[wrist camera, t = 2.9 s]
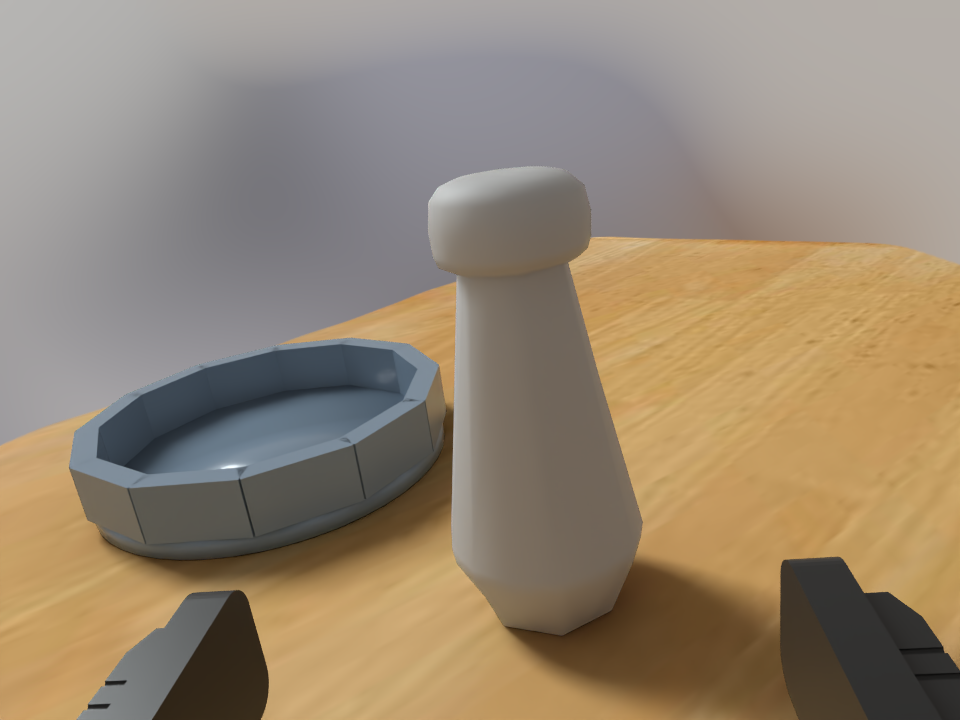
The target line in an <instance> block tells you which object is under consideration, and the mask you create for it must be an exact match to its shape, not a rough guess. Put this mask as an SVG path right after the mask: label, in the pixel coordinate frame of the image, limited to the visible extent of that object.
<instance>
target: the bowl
mask: <svg viewBox="0 0 960 720" xmlns="http://www.w3.org/2000/svg"><path fill="white" fill-rule="evenodd" d="M445 415H446V405H445V399H444V393H443V387H442V380H441V374H440V368H439V364H437V363H436V362H434V361H433V360H431V359H430V358H428V357H427V356H426V355H424V354H423V353H421V352H420V351H418V350H417V349H415V348H414V347H413V346H411V345H410V344H405V343H396V342H386V341H377V340H367V339H357V338H343V339H333V340H323V341H313V342H303V343H293V344H284V345H277V346H271V347H267V348H263V349H259V350H255V351H251V352H247V353H243V354H239V355H235V356H232V357H227V358H223V359H219V360H215V361H211V362H207V363H203V364H199V365H196V366H194V367H191V368H189V369H186V370H184V371H181V372H179V373H177V374H174V375H172V376H169V377H167V378H165V379H163V380H160V381H157V382H155V383H152V384H150V385H147V386H145V387H143V388H140V389H138V390H135V391H133V392H130V393H128V394H126V395H124V396H123V397H121V398H120V399H119V400H117V401H116V402H115V403H113V404H112V405H110V406H109V407H108V408H106V409H105V410H104V411H102V412H101V413H100V414H98V415H97V416H95V417H94V418H93V419H91V420H90V421H89V422H87V423H86V424H85V425H83V426H82V427H80V428H79V429H78V430H76V431H75V433H74V439H73V445H72V452H71V458H70V464H69V469H70V472H71V475H72V477H73V480H74V483H75V486H76V489H77V492H78V494H79V497H80V500H81V503H82V506H83V509H84V511H85V514H86V517H87V520H88V521H91V522H93V523H95V524H96V526H97V528H98V530H99V532H100V534H101V535H102V536H103V537H104V538H105V539H106V540H107V541H108V542H109V543H111V544H113V545H115V546H116V547H118V548H120V549H122V550H125V551H128V552H131V553H134V554H137V555H141V556H147V557H152V558H159V559H174V560H198V559H213V558H223V557H233V556H238V555H244V554H250V553H256V552H261V551H265V550H269V549H274V548H278V547H282V546H286V545H290V544H293V543H296V542H299V541H303V540H306V539H309V538H312V537H316V536H318V535H321V534H324V533H326V532H329V531H331V530H334V529H337V528H339V527H342V526H344V525H346V524H348V523H351V522H353V521H355V520H357V519H359V518H361V517H364V516H366V515H368V514H369V513H371V512H373V511H375V510H377V509H378V508H380V507H382V506H384V505H386V504H387V503H389V502H390V501H392V500H393V499H395V498H396V497H398V496H399V495H401V494H402V493H404V492H405V491H406V490H408V489H409V488H410V487H411V486H412V485H414V484H415V483H416V482H417V481H419V480H420V479H421V478H422V477H423V476H424V474H425V473H426V472H427V471H428V470H429V469H430V468H431V467H432V465H433V464H434V462H435V461H436V460H437V458H438V457H439V454H440V452H441V450H442V448H443V444H444V437H445V435H444V429H443V421H444V418H445Z"/></svg>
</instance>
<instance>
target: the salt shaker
mask: <svg viewBox="0 0 960 720" xmlns="http://www.w3.org/2000/svg"><path fill="white" fill-rule="evenodd" d="M428 234H429V239H430V244H431V249H432V254H433V258H434V260H435V262H436V264H437V266H438V268H439V269H442V270H445V271H448V272H451V273H454V274H457V290H456V336H455V382H454V428H453V474H452V520H451V528H452V549H453V553H454V556H455V559H456V562H457V564H458V566H459V567H460V568H461V569H462V570H463V571H464V573H465V574H466V575H467V576H468V577H469V578H470V580H471V581H472V582H473V583H474V584H475V585H476V587H477V588H478V589H479V590H480V591H481V592H482V594H483V595H484V596H485V597H486V599H487V600H488V602H489V603H490V605H491V607H492V608H493V610H494V611H495V613H496V614H497V616H498V618H499V619H500V621H501V622H502V624H503V625H504V626H507V627H513V628H519V629H525V630H531V631H537V632H543V633H549V634H555V635H560V636H563V635H565V634H567V633H569V632H571V631H573V630H574V629H576V628H578V627H580V626H582V625H584V624H586V623H588V622H590V621H592V620H594V619H596V618H598V617H600V616H602V615H604V614H606V613H608V612H609V611H611V610H612V609H613V607H614V604H615V602H616V600H617V598H618V595H619V593H620V591H621V589H622V586H623V584H624V582H625V579H626V577H627V575H628V573H629V570H630V568H631V566H632V563H633V561H634V557H635V554H636V551H637V548H638V544H639V541H640V538H641V531H642V523H643V521H642V518H641V515H640V511H639V508H638V505H637V501H636V498H635V494H634V491H633V488H632V484H631V481H630V478H629V474H628V471H627V468H626V464H625V461H624V458H623V454H622V451H621V448H620V444H619V441H618V438H617V434H616V431H615V428H614V424H613V421H612V418H611V414H610V411H609V408H608V404H607V401H606V398H605V394H604V391H603V388H602V384H601V381H600V377H599V374H598V371H597V367H596V363H595V360H594V356H593V352H592V349H591V345H590V341H589V338H588V334H587V330H586V327H585V323H584V319H583V316H582V312H581V308H580V305H579V301H578V297H577V294H576V290H575V286H574V283H573V279H572V275H571V272H570V268H569V264H568V262H570V261H572V260H573V259H575V258H577V257H578V256H579V255H581V254H582V253H583V252H584V251H585V250H586V249H587V248H588V245H589V241H590V237H591V209H590V205H589V201H588V197H587V193H586V189H585V185H584V184H583V183H582V182H580V181H579V180H578V179H577V178H576V177H574V176H573V175H572V174H571V173H569V172H568V171H566V170H564V169H558V168H551V167H546V166H529V167H516V168H506V169H496V170H491V171H486V172H480V173H475V174H471V175H465V176H461V177H459V178H457V179H454V180H452V181H450V182H448V183H446V184H444V185H442V186H440V187H438V188H437V190H436V191H435V193H434V195H433V196H432V198H431V199H430V200H429V203H428Z"/></svg>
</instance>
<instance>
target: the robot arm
mask: <svg viewBox="0 0 960 720" xmlns="http://www.w3.org/2000/svg"><path fill="white" fill-rule="evenodd" d="M780 648H781V660H782V667H783V673H784V677H785V682H786V686H787V689H788V692H789V695H790V698H791V701H792V703H793V706H794V708H795V711H796V713H797V716H798V718H799V720H960V670H959V669H958V667H957V666H956V664H955V663H954V662H953V660H952V659H951V657H950V656H949V654H948V653H945V652H944V649H943V646H942V644H941V643H940V641H939V640H938V639H937V637H936V636H935V634H934V633H933V631H932V630H931V629H930V627H929V626H928V624H927V623H926V621H925V620H924V619H923V617H922V616H921V615H919V614H918V613H916V612H915V611H914V610H912V609H911V608H909V607H908V606H907V605H905V604H904V603H903V602H901V601H900V600H898V599H897V598H896V597H894V596H893V595H892V594H890V593H889V592H878V593H864V592H863V591H862V589H861V588H860V586H859V584H858V583H857V581H856V579H855V578H854V576H853V575H852V573H851V571H850V570H849V568H848V566H847V565H846V563H845V562H844V560H843V559H842V558H840V557H825V558H807V559H790V560H784V561H783V562H782V565H781V601H780ZM268 689H269V677H268V670H267V665H266V662H265V658H264V655H263V651H262V648H261V644H260V641H259V637H258V634H257V630H256V626H255V623H254V619H253V616H252V612H251V609H250V605H249V602H248V599H247V597H246V595H245V594H244V593H243V592H242V591H240V590H233V591H216V592H199V593H192V594H190V595H188V596H187V597H186V598H185V600H184V601H183V602H182V604H181V605H180V607H179V608H178V609H177V611H176V612H175V614H174V615H173V616H172V618H171V619H170V621H169V622H168V624H167V625H166V626H165V628H158V629H155V630H154V631H153V632H152V633H150V634H149V635H148V636H147V637H145V638H144V639H143V640H142V641H140V642H139V643H138V644H137V645H135V646H134V647H133V648H132V649H131V650H129V651H128V652H127V653H126V654H125V655H124V657H123V658H122V659H121V661H120V662H119V663H118V665H117V666H116V667H115V669H114V670H113V671H112V673H111V674H110V675H109V677H108V678H107V679H106V681H105V686H104V687H101V688H100V689H99V690H98V692H97V693H96V694H95V696H94V697H93V698H92V700H91V701H90V702H89V704H88V709H87V710H83V712H82V713H81V714H80V716H79V717H78V718H77V720H261V718H262V716H263V713H264V710H265V707H266V703H267V698H268Z"/></svg>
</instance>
